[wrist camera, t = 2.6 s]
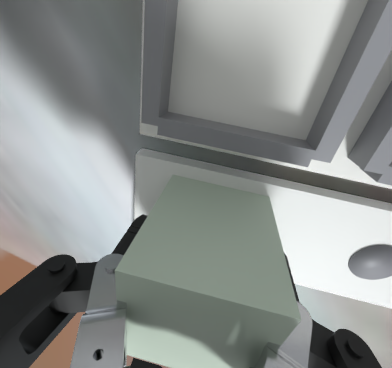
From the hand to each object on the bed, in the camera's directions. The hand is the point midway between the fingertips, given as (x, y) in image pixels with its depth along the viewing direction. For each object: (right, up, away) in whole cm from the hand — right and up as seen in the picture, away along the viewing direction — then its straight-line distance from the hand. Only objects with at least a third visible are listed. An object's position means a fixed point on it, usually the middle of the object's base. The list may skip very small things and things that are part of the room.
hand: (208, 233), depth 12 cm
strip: (+5, 0, +1) cm, 5 cm away
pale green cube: (0, 0, +1) cm, 1 cm away
